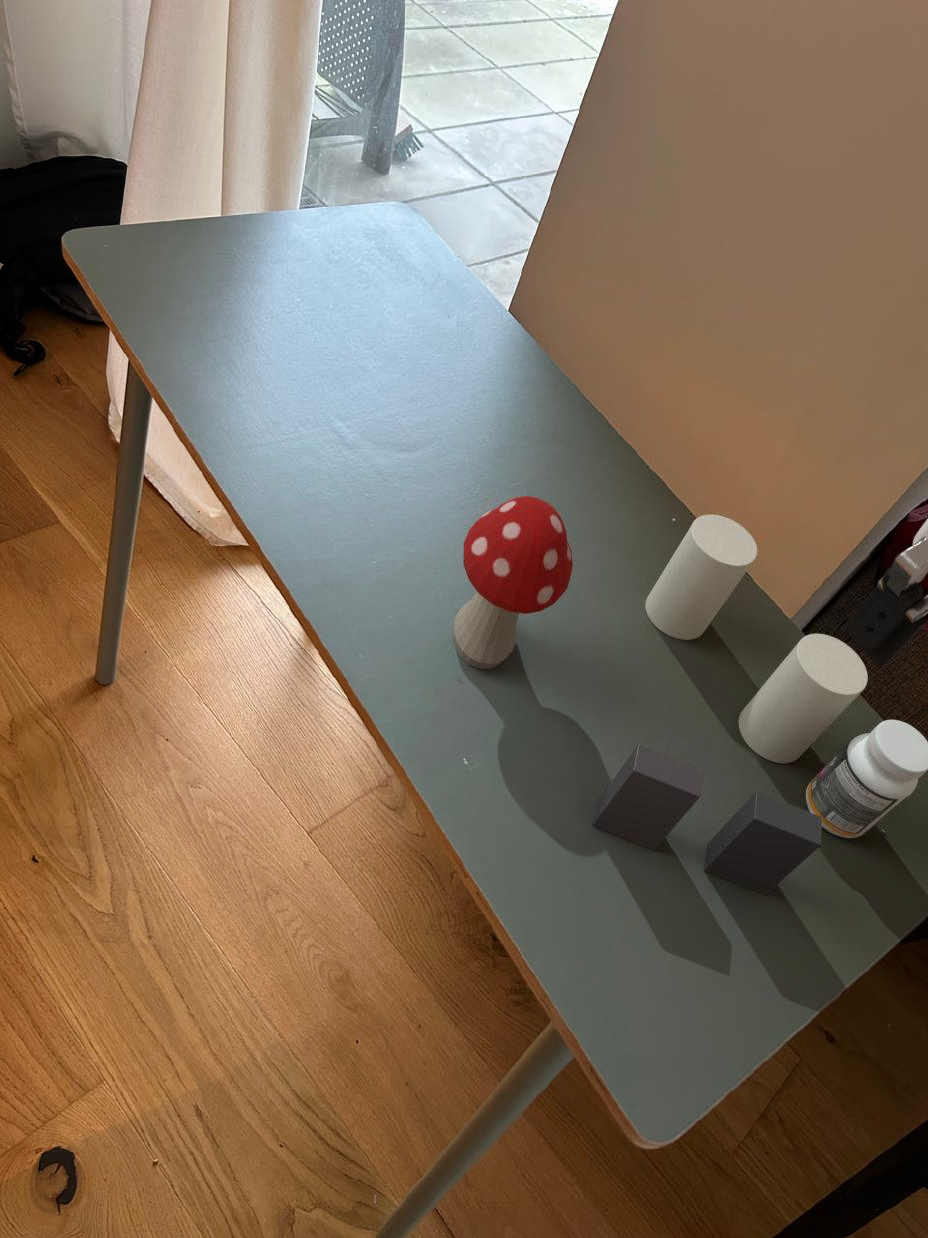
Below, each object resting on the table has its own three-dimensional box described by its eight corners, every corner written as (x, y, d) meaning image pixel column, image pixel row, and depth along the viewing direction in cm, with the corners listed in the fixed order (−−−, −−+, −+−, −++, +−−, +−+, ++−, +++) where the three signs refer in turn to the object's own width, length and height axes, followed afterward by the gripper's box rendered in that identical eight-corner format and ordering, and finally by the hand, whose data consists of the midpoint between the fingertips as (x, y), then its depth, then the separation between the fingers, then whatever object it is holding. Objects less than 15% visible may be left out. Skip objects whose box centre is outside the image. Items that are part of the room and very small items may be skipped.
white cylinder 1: (708, 604, 94) (759, 530, 87) (702, 649, 90) (755, 575, 83) (649, 580, 94) (695, 504, 87) (640, 624, 90) (688, 548, 83)
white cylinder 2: (804, 720, 88) (867, 650, 81) (801, 774, 84) (868, 706, 77) (740, 694, 88) (798, 622, 81) (735, 747, 84) (795, 676, 76)
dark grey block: (767, 868, 77) (822, 817, 71) (765, 895, 75) (821, 845, 69) (706, 843, 77) (756, 790, 71) (703, 870, 75) (754, 818, 69)
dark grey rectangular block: (658, 824, 77) (704, 769, 71) (654, 851, 75) (700, 797, 69) (597, 800, 77) (638, 743, 71) (592, 826, 75) (633, 770, 69)
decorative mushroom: (524, 701, 81) (590, 578, 70) (421, 672, 80) (472, 542, 69) (535, 611, 88) (597, 486, 77) (440, 584, 87) (489, 453, 76)
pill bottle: (834, 771, 85) (903, 704, 78) (880, 828, 82) (955, 764, 75) (789, 791, 82) (855, 724, 75) (834, 851, 80) (907, 787, 72)
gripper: (1095, 481, 42) (867, 716, 54) (1271, 424, 50) (1040, 637, 63) (963, 369, 45) (777, 614, 57) (1150, 334, 54) (953, 553, 66)
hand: (915, 626), depth 60 cm, fingers open, 9 cm apart
